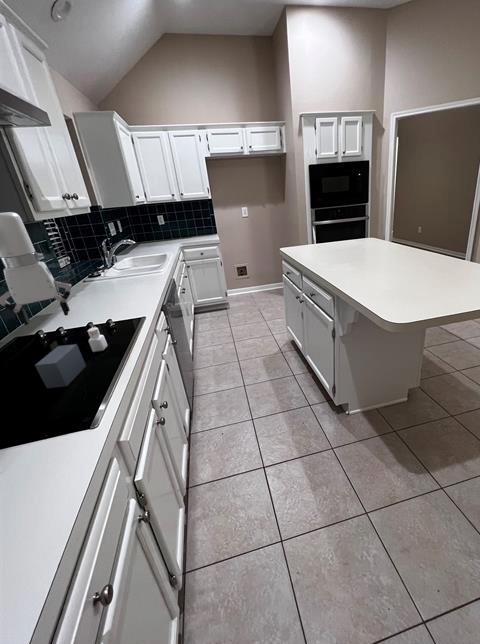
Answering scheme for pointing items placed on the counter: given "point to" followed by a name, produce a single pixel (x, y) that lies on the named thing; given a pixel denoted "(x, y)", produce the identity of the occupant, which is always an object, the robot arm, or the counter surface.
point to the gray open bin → (61, 366)
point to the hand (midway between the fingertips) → (47, 318)
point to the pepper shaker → (96, 340)
